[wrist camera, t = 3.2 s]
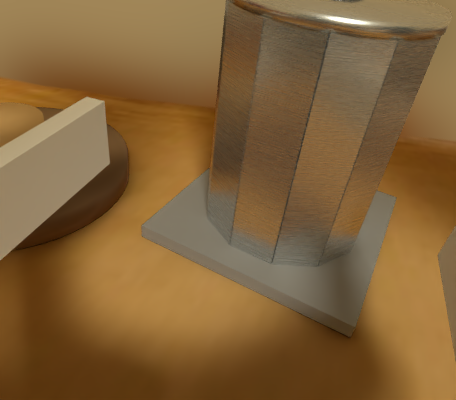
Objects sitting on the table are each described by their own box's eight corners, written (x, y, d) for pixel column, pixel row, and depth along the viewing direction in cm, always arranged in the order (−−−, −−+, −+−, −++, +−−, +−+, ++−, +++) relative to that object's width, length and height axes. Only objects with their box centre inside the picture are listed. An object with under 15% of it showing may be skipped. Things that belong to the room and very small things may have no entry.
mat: (392, 206, 27) (396, 197, 26) (350, 337, 18) (355, 327, 18) (238, 150, 31) (239, 141, 30) (142, 236, 22) (141, 225, 21)
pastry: (65, 152, 25) (59, 116, 24) (4, 184, 22) (-7, 145, 20) (17, 131, 27) (9, 96, 25) (-47, 158, 23) (-61, 120, 22)
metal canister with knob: (373, 200, 26) (471, -33, 18) (335, 295, 19) (466, -13, 11) (247, 154, 29) (281, -63, 21) (174, 221, 22) (184, -63, 14)
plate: (170, 165, 28) (170, 146, 27) (-9, 296, 18) (-17, 274, 17) (30, 109, 32) (27, 91, 32) (-176, 188, 22) (-190, 166, 21)
